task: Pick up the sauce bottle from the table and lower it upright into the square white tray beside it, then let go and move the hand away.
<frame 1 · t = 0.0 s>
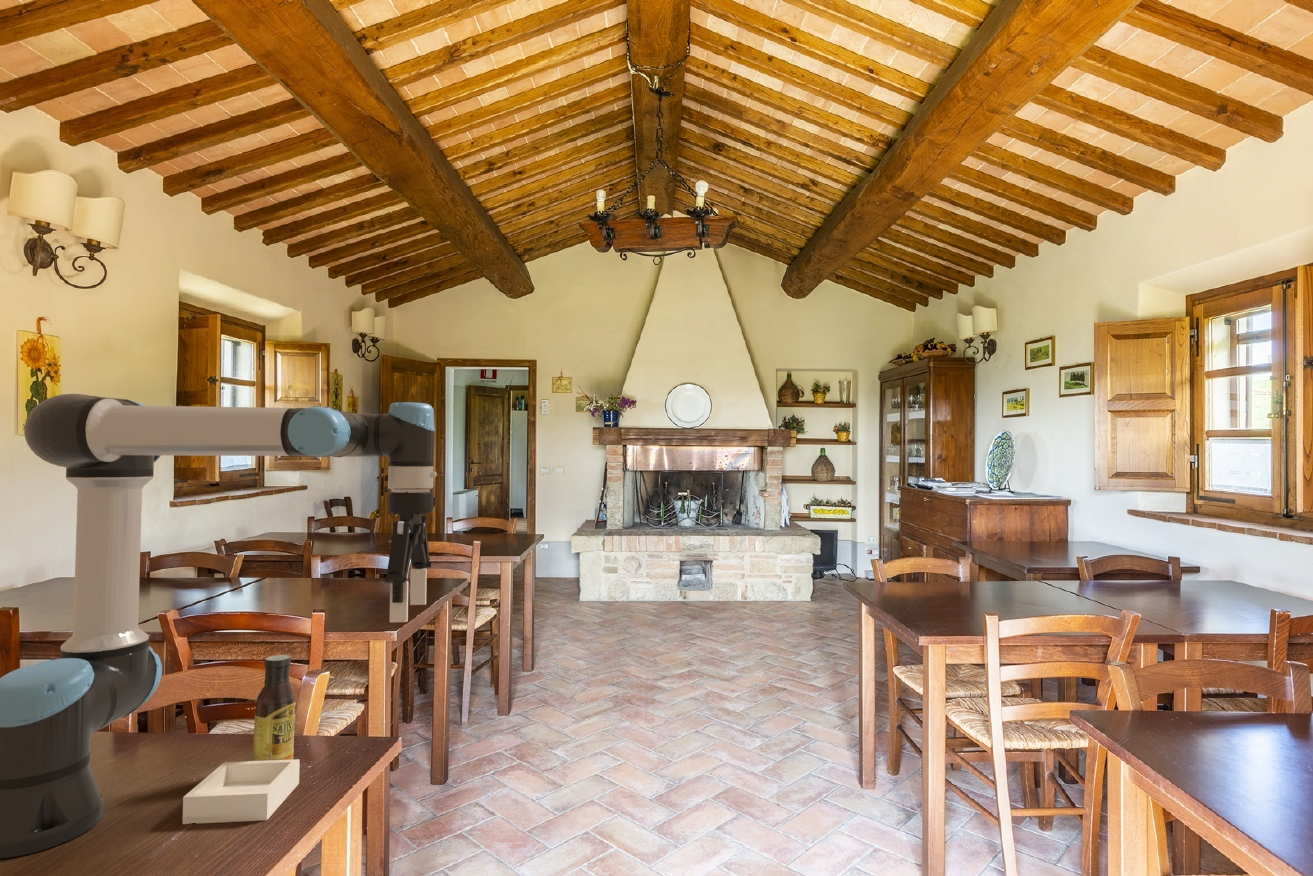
hand: (408, 612, 121), 28 cm above the table, tool pointing down, fingers open, 13 cm apart
square white tray: (244, 802, 110), on the table
sauce bottle: (273, 774, 121), on the table
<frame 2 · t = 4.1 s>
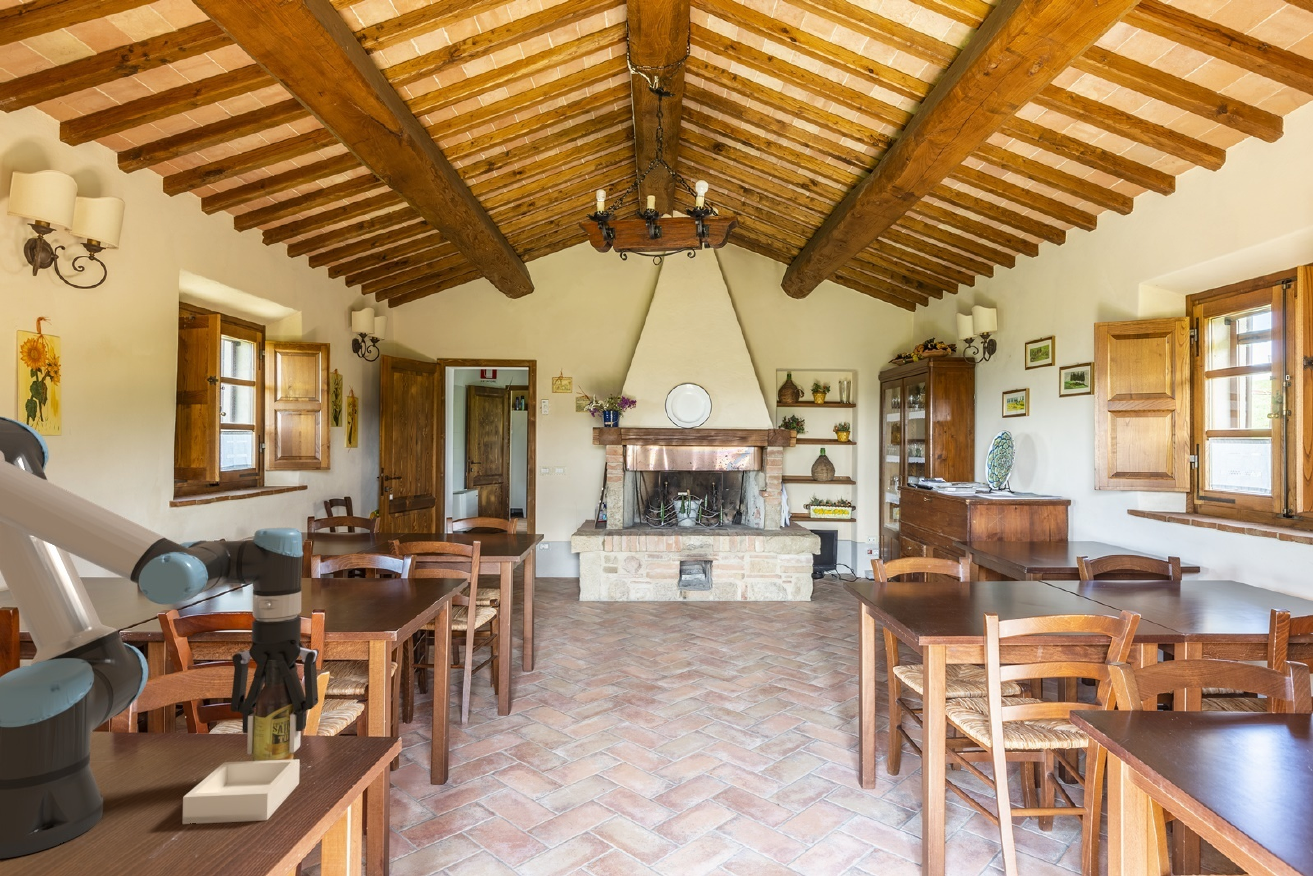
hand: (274, 749, 121), 4 cm above the table, tool pointing down, fingers closed on sauce bottle, 6 cm apart
sauce bottle: (273, 774, 121), on the table, touching gripper
when the fingers open (6 cm above the table, at t = 9.9 s): sauce bottle drops 1 cm, resting on square white tray.
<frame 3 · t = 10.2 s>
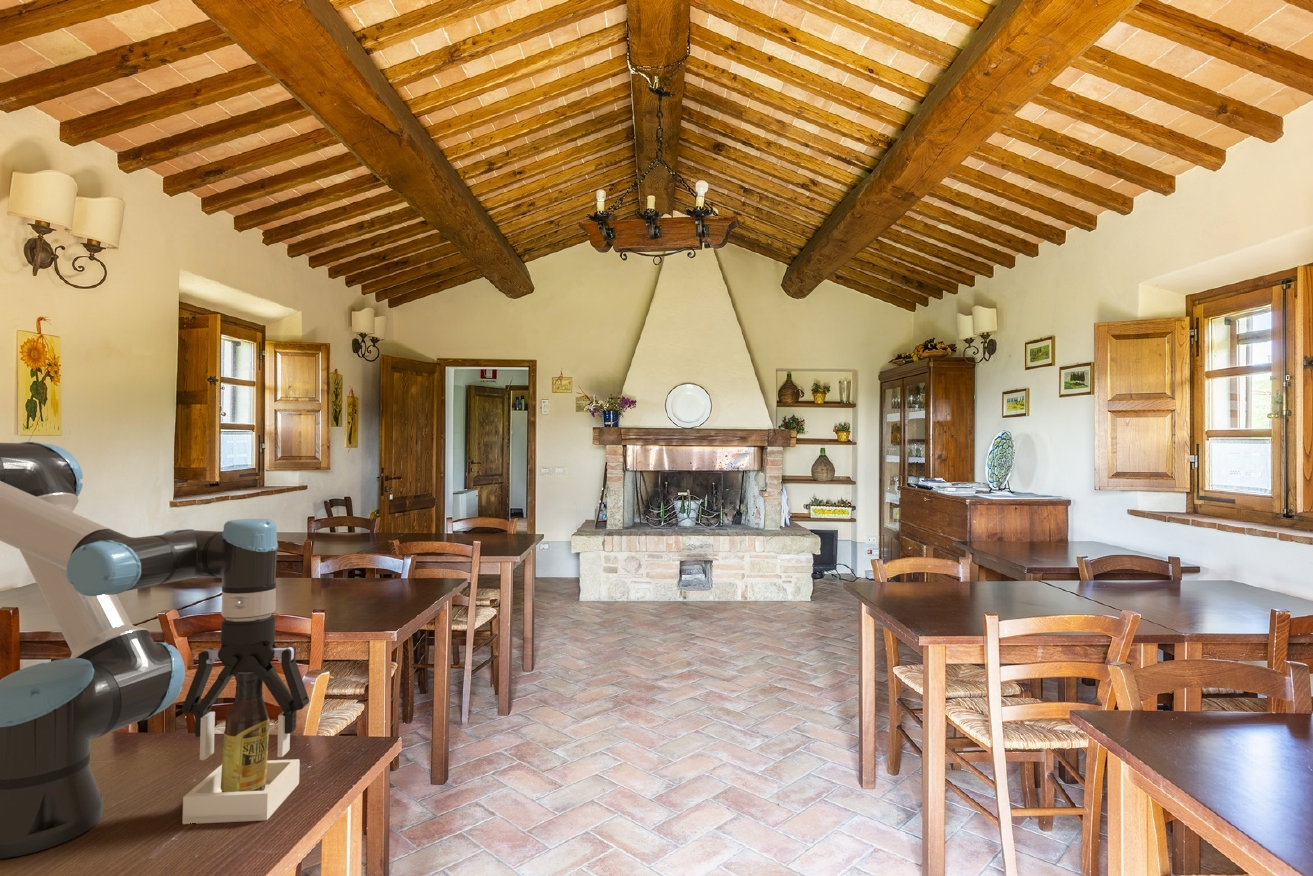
hand: (245, 755, 110), 7 cm above the table, tool pointing down, fingers open, 11 cm apart
sauce bottle: (244, 797, 110), point 1 cm above the table, touching square white tray
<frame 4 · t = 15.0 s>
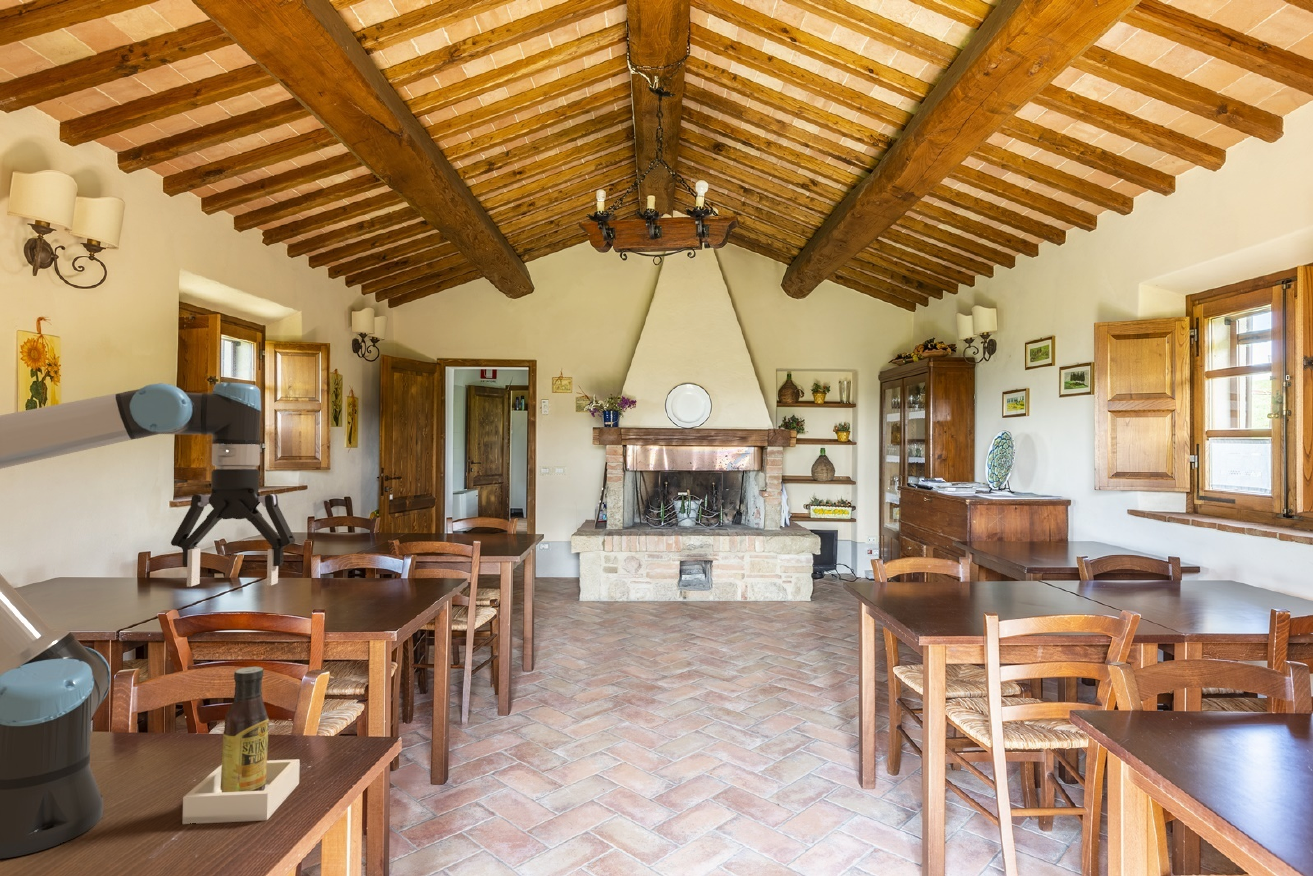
hand: (233, 584, 126), 32 cm above the table, tool pointing down, fingers open, 13 cm apart
nothing on the table moved.
at the end: sauce bottle 0.1 cm off-centre on the square white tray, point 0.8 cm above the square white tray's base; sauce bottle tilted 0°; the gripper is holding nothing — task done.
